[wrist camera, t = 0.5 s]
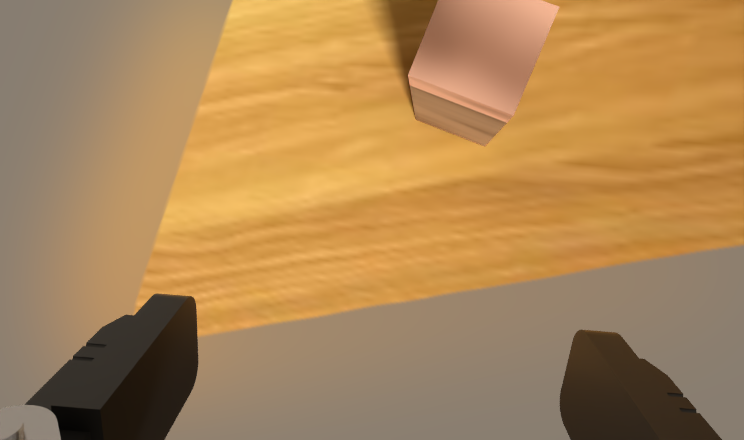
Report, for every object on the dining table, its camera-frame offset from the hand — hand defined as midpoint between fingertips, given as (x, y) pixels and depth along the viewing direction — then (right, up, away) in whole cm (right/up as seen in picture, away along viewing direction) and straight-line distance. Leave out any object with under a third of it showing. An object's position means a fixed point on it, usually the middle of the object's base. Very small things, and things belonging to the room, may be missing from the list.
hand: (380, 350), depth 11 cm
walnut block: (+6, +11, +24) cm, 27 cm away
